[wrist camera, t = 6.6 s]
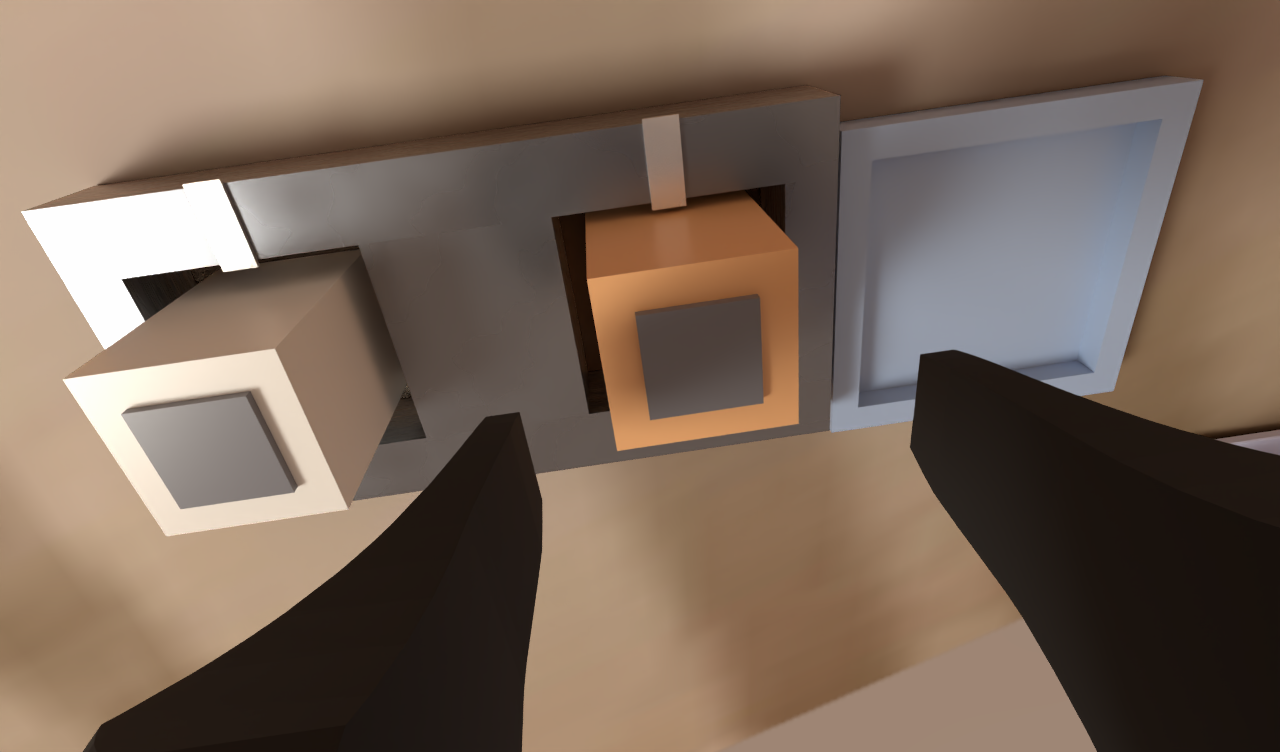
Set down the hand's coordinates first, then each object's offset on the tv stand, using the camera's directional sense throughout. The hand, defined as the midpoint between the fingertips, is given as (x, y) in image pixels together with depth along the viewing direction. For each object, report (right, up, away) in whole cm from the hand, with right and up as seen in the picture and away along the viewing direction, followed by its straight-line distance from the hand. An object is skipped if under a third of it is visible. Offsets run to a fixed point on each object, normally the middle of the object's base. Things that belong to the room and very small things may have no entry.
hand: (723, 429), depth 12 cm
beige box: (-11, +2, +7) cm, 13 cm away
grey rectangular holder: (-6, +3, +7) cm, 9 cm away
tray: (+8, +4, +7) cm, 12 cm away
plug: (-1, +4, +7) cm, 8 cm away
